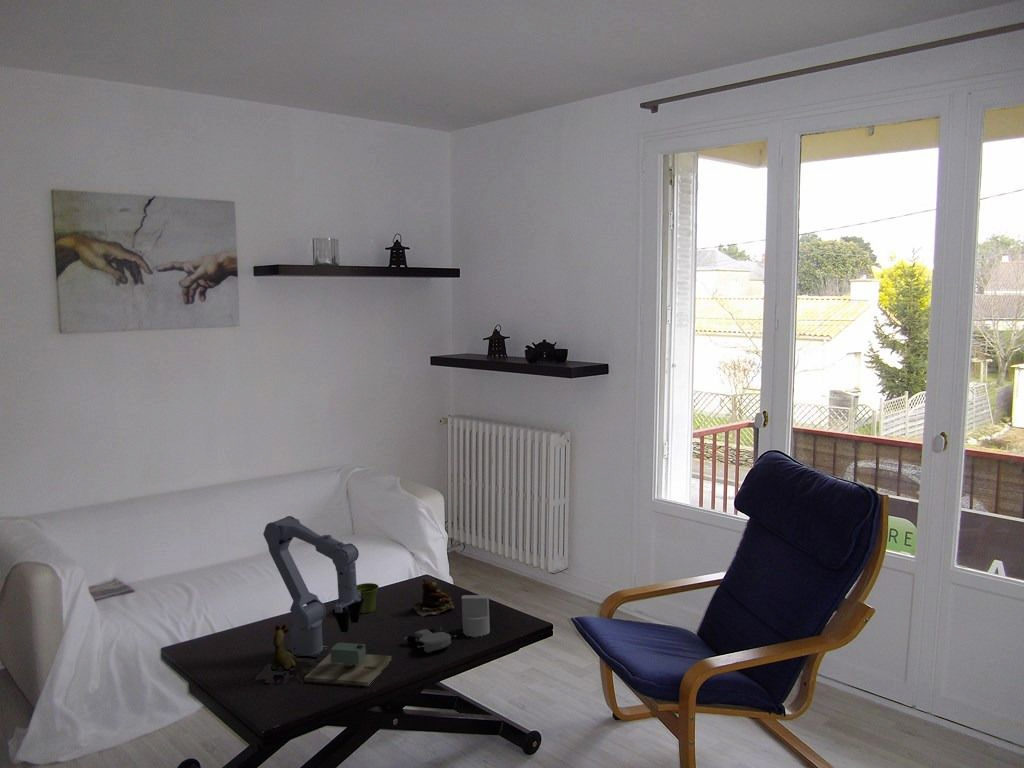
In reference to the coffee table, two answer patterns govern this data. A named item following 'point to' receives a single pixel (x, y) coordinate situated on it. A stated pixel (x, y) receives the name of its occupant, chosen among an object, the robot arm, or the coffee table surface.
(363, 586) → the plant pot
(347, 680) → the base
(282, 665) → the stuffed giraffe
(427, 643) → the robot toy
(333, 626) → the coffee table surface
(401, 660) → the coffee table surface
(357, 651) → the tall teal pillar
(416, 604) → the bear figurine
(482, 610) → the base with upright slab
